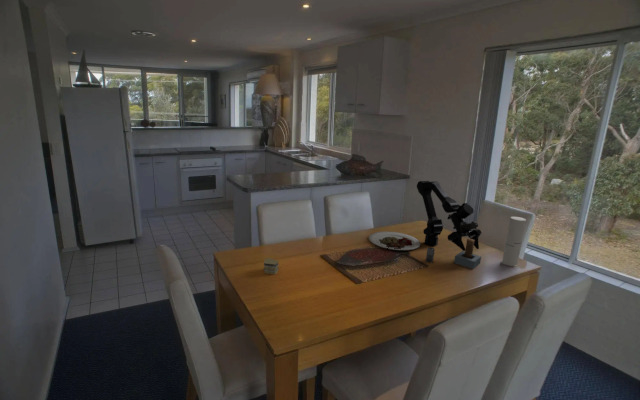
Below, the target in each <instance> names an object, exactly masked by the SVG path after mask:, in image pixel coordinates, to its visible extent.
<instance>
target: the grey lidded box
mask: <svg viewBox="0 0 640 400" xmlns="http://www.w3.org/2000/svg"><path fill="white" fill-rule="evenodd" d="M279 265H280V264H279V260H276V259H273V258H270V257H268V258H264V261H263V271H264V274H267V275H268V274H269V275H270V274H271V275H274V276H275V275H276V274H277V273H278V272H279V269H280V268H279Z"/></svg>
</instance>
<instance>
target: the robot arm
mask: <svg viewBox="0 0 640 400" xmlns="http://www.w3.org/2000/svg"><path fill="white" fill-rule="evenodd" d="M416 189H417V192H418V194H420V196H422V200H423V203H424V208H425V212H426V215H427V222H426V228H424V229H423V234H424V235H425V237H424V242H423V245H427V246H430V247H435V246H437V245H438V244H439V237H438V236H441V234H442V232H443V230H444V224H443V221H442V218H441V219H439V218H438V216H437V212H436V208H435V204H434V202H433V198H432V197H433V196H432V192H433V193H434V194H435V195H436V196H437V198H438V200H439V201H440V202H441V206H442V208H443V211H444V212H445V213H446V214H448V217H447V218H446V219H447V220H451V222H452V225H453V227H452V228H453V230H456V231H452V232H450V234H448V235H447V239H448V241H449V242H450V243H453V244H454V245H456V246H457V247H458V248H459V249H461V250H462V251H464V252H465V249H466V246H465V244H464V243H463V238H464V237H468V239H473V240H475V241H474V247H475V249H477V250H479V249H480V246H479V238H480V236H481V234H482V231H481V229H480V228H479V229H478V227H479V223H478V222H477V221H476V220H475V221H471V222H467V221H465V219H467V218H468V217H470V216H471V215H472V214H474V208H473V206H471V205H470V204H468V203H467V202H464V203H462V204H461V205H460V204H459V202H457V201H456V200H455V199H453V198H452V197H450V196H449V195H448V193H446V191H445V190H444V189H443V188H442V186H441V185H440V183H439V181H429V180H419V181H418V182H417V183H416Z"/></svg>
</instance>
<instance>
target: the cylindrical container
mask: <svg viewBox="0 0 640 400" xmlns="http://www.w3.org/2000/svg"><path fill="white" fill-rule="evenodd" d="M526 222H527V218H524V217H521V216H520V217H519V216H510V218H509V223H508V228H507V234H506V240H505V244H504V250H503V254H502V261H501V263H502V264H504V265H506V266H509V265H510V266H511V267H516V266H515V265H517V266H518V262H519V257H520V251H521V247H522V242H523V237H524V232H525V226H526Z"/></svg>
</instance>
